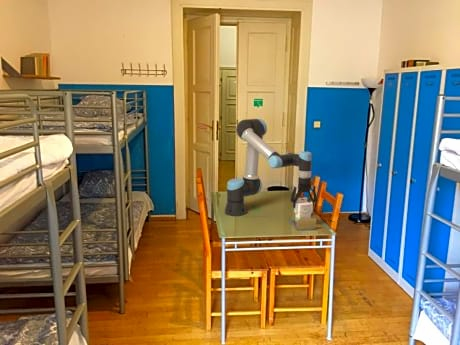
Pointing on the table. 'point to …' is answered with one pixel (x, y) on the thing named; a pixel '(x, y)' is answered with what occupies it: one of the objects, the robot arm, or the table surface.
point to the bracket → (304, 224)
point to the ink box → (303, 209)
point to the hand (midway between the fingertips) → (303, 212)
